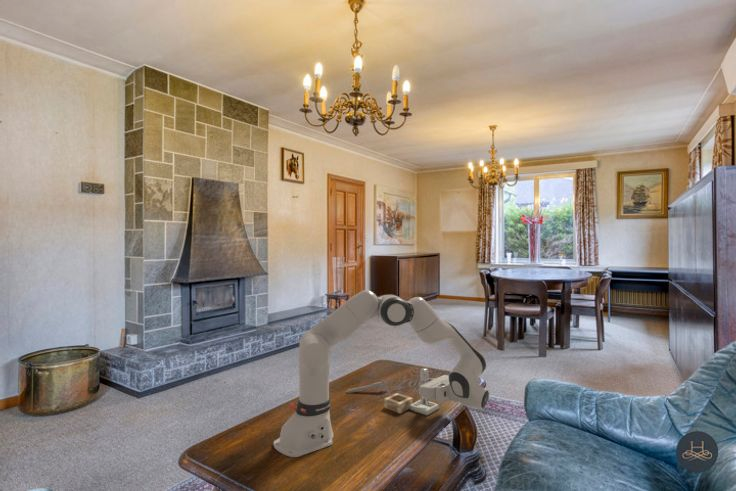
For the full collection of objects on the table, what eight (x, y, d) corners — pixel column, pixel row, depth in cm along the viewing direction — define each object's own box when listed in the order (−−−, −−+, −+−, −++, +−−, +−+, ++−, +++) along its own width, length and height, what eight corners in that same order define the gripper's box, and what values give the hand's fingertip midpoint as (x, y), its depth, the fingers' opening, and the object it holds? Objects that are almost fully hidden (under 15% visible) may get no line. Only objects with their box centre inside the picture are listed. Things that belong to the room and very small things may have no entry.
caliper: (386, 391, 193) (386, 378, 193) (387, 392, 192) (387, 379, 192) (345, 392, 192) (345, 379, 192) (345, 393, 191) (345, 380, 191)
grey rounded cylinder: (425, 405, 169) (425, 371, 169) (418, 403, 171) (418, 369, 171) (430, 403, 172) (430, 369, 172) (423, 401, 174) (423, 367, 174)
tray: (426, 415, 165) (426, 410, 165) (409, 409, 171) (409, 404, 171) (438, 409, 172) (438, 404, 172) (421, 403, 178) (421, 398, 178)
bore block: (400, 413, 167) (400, 404, 167) (384, 407, 173) (384, 398, 173) (412, 407, 174) (412, 398, 174) (397, 401, 180) (397, 392, 180)
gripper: (462, 375, 170) (435, 368, 180) (436, 388, 155) (408, 380, 165) (462, 389, 170) (435, 382, 180) (436, 404, 155) (408, 395, 165)
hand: (422, 381), depth 172 cm, fingers closed on grey rounded cylinder, 4 cm apart
